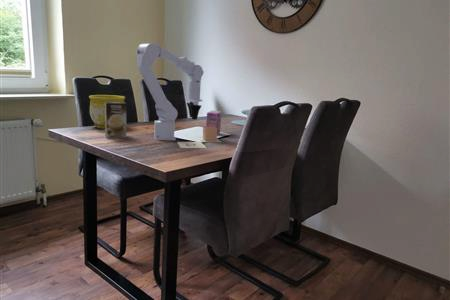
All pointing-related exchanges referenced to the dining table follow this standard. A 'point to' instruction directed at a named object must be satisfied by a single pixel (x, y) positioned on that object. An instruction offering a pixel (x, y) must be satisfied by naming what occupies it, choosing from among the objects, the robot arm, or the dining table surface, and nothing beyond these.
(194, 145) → the plate
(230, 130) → the dining table surface
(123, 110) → the coffee box
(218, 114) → the box
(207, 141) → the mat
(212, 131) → the block
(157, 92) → the robot arm
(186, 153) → the dining table surface
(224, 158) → the dining table surface
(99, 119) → the flowerpot
